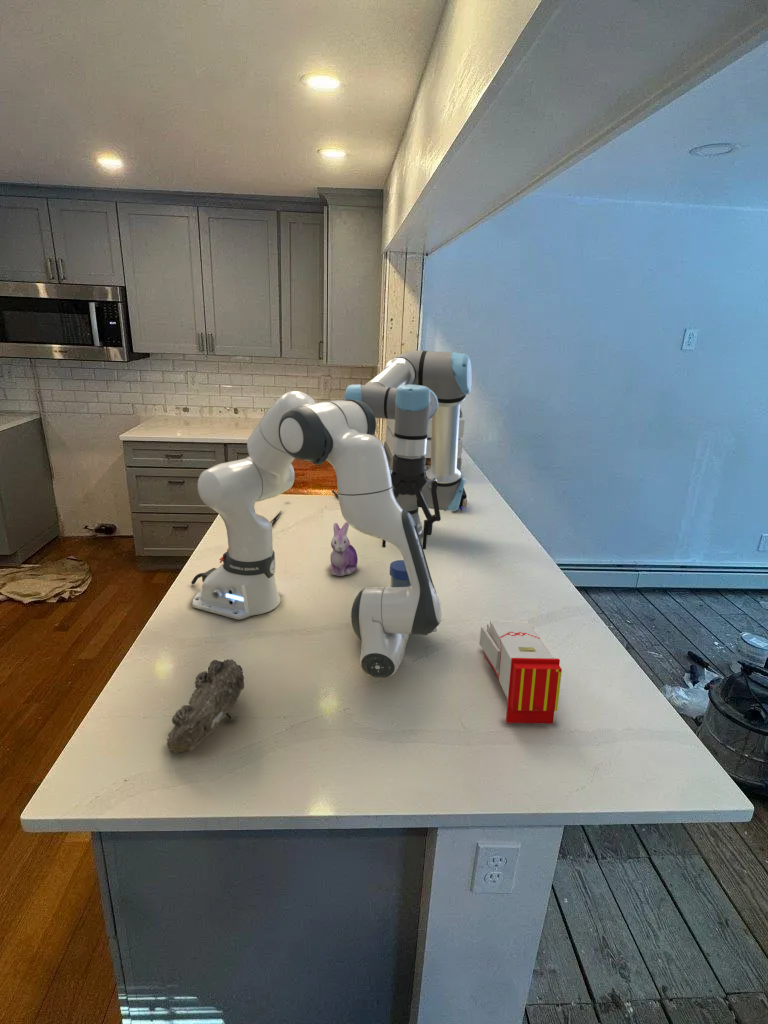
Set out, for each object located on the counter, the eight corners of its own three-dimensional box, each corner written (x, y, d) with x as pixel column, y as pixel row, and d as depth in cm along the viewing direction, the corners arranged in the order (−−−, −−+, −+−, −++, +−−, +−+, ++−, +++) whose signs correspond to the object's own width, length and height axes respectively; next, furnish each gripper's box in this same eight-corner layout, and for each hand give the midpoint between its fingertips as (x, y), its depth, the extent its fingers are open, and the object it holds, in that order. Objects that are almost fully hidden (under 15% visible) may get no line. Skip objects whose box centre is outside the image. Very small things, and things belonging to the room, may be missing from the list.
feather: (288, 505, 226) (290, 501, 226) (271, 529, 199) (273, 524, 199) (284, 503, 226) (287, 499, 225) (266, 526, 199) (269, 522, 199)
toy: (526, 605, 135) (570, 665, 105) (521, 658, 137) (563, 730, 108) (475, 604, 134) (506, 664, 105) (472, 657, 137) (500, 729, 108)
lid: (385, 576, 137) (386, 567, 137) (394, 566, 143) (395, 558, 142) (410, 582, 135) (410, 573, 134) (418, 571, 141) (419, 562, 140)
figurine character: (467, 516, 223) (461, 500, 237) (469, 499, 220) (463, 483, 233) (450, 516, 223) (446, 499, 236) (452, 498, 220) (447, 483, 233)
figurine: (335, 579, 164) (336, 531, 159) (322, 565, 172) (322, 519, 167) (364, 574, 168) (366, 527, 163) (350, 560, 177) (351, 515, 172)
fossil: (192, 660, 117) (244, 628, 112) (224, 691, 120) (276, 661, 115) (142, 746, 98) (202, 712, 93) (182, 779, 101) (242, 748, 96)
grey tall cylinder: (385, 625, 142) (388, 569, 137) (393, 614, 147) (396, 560, 142) (406, 630, 140) (409, 573, 135) (413, 619, 145) (417, 564, 140)
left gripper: (437, 621, 127) (443, 592, 140) (349, 609, 130) (362, 582, 143) (435, 645, 129) (441, 615, 142) (348, 632, 132) (361, 604, 145)
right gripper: (455, 453, 132) (447, 542, 140) (362, 448, 132) (360, 537, 140) (458, 461, 125) (450, 554, 133) (360, 456, 125) (357, 550, 133)
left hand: (401, 598), depth 142 cm, fingers open, 8 cm apart
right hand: (404, 545), depth 137 cm, fingers open, 9 cm apart
